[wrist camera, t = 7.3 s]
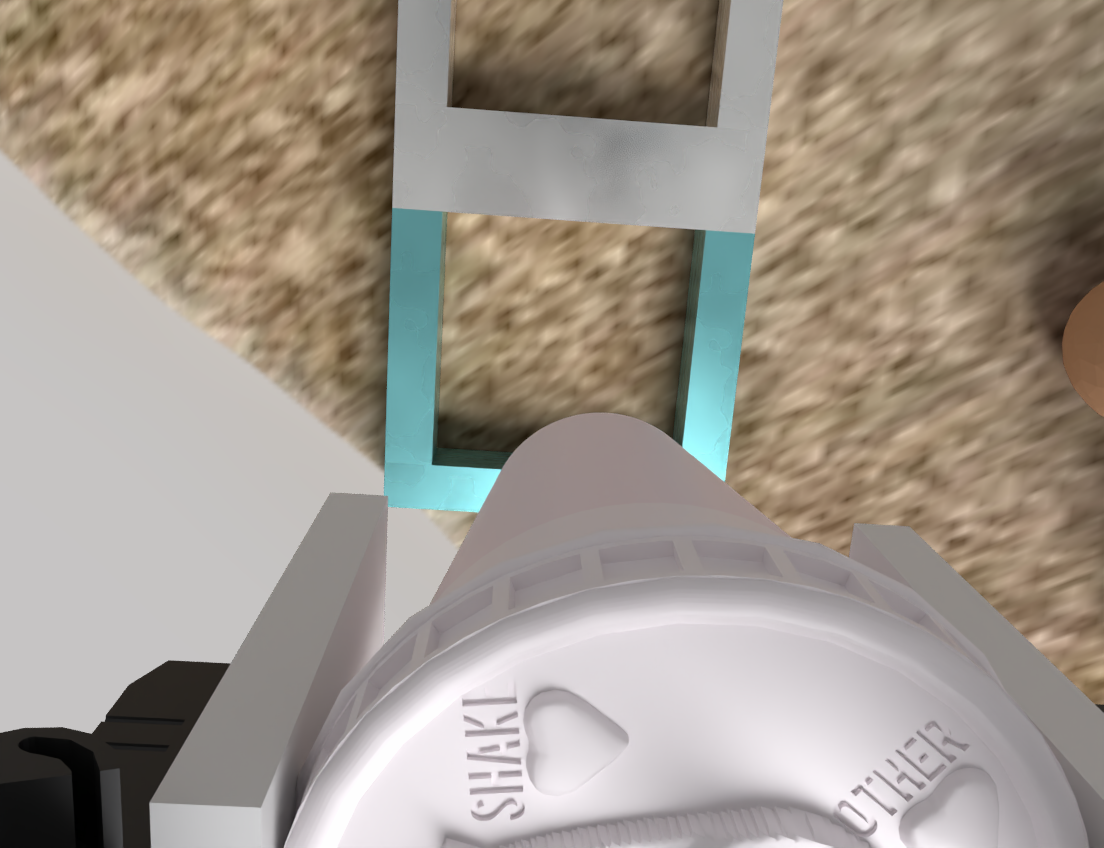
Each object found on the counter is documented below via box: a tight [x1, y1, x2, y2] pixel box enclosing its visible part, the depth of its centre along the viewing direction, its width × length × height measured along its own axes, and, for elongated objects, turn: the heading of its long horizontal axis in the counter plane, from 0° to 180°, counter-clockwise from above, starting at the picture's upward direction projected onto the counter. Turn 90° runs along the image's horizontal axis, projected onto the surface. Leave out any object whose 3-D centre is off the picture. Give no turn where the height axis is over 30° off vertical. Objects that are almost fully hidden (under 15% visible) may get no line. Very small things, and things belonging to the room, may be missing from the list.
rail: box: [384, 0, 783, 512], centre depth 31 cm, size 22×11×2 cm, turn 176°
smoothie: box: [284, 413, 1089, 848], centre depth 10 cm, size 6×6×14 cm
